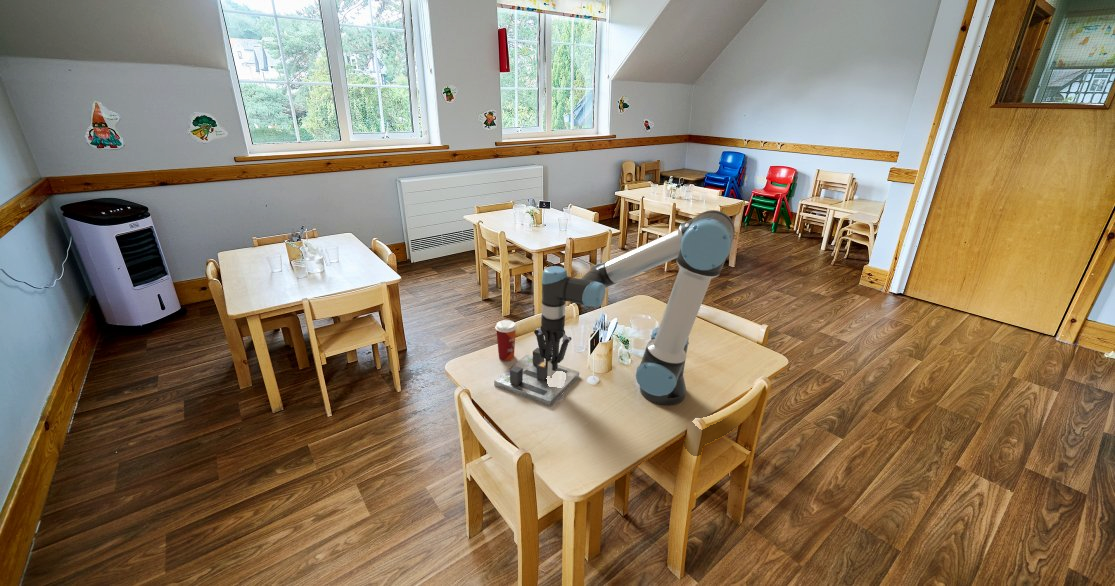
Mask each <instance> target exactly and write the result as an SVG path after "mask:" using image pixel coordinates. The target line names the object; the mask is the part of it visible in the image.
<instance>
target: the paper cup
mask: <svg viewBox="0 0 1115 586" xmlns="http://www.w3.org/2000/svg"><path fill="white" fill-rule="evenodd" d="M494 328H495V331H496V341H497V352H498V358H499V360H500V361H502V362H510V361H512V360H514V358H515V348H516V347H515V346H516V331H517V330H516V329H517V325H516V323H515V322H514V321H513V320H510V319H503V320H500V321H498V322H496V325H495V327H494Z"/></svg>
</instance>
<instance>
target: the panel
mask: <svg viewBox="0 0 1115 586" xmlns="http://www.w3.org/2000/svg"><path fill="white" fill-rule="evenodd" d="M544 362H545V363H546V360H545V359H544ZM514 366H517V367H520V368H523V381H522V382H521V383H520V384H519V385H515V384H512V383H510V370H511V369H512V368H513V367H514ZM556 371H563V372H565V373H566V380H565V383H564V386H563V387H562V388H557V387H549V386H548V384H547V379H546V380H545V381H544V380H541V379H538V378H537V365H536V364H533V355H530V354H528V353H526V354H525V355H523V357H521V358H520V359H519V360H518V361H516V362H515V363H514V364H513V365H511V366H510V367H509V368H508V369H507V370H505V371H504V372H503V373H502V374H501V375H499V376H498V377H497V378H495V379H494V380H493V381H494V382H493V383H494V386H495V387H497V388H500V389H502V390H505V391H507V392H510V393H512V394H515V395H518V396H520V397H523V398H526V399H529V400H531V401H534V402H537V403H539V404H542V405H544V406H547V407H550V408H551V407H552V406H553V405H554V404H555V403H556V402H557V401H558V400H559V399H560V397H561V396H562V395H563V394H564V393H565V392H566V391H567V390H568V389H569V388H570V387H571V386H572V384H574V383H575V382H576V381H577V380H578V378H580V371H579V370H575V369H573V368H568V367H566V366H563V365H560V364H558V368H557V370H555V372H556ZM563 392H564V393H563ZM562 393H563V394H562Z"/></svg>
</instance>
